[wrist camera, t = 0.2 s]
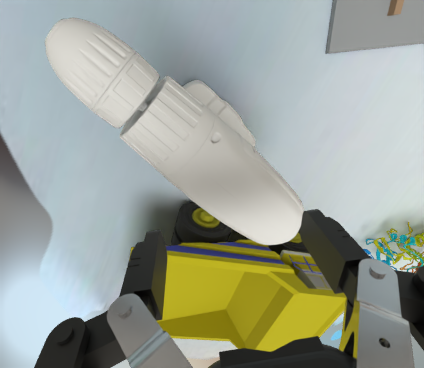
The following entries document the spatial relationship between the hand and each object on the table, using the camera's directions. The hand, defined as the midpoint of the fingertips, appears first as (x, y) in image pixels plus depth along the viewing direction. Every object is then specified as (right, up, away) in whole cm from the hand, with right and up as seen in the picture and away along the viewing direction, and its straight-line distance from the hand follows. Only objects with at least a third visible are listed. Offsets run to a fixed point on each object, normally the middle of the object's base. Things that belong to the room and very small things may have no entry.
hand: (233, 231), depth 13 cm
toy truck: (+2, -12, +41) cm, 43 cm away
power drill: (-4, +15, +25) cm, 29 cm away
